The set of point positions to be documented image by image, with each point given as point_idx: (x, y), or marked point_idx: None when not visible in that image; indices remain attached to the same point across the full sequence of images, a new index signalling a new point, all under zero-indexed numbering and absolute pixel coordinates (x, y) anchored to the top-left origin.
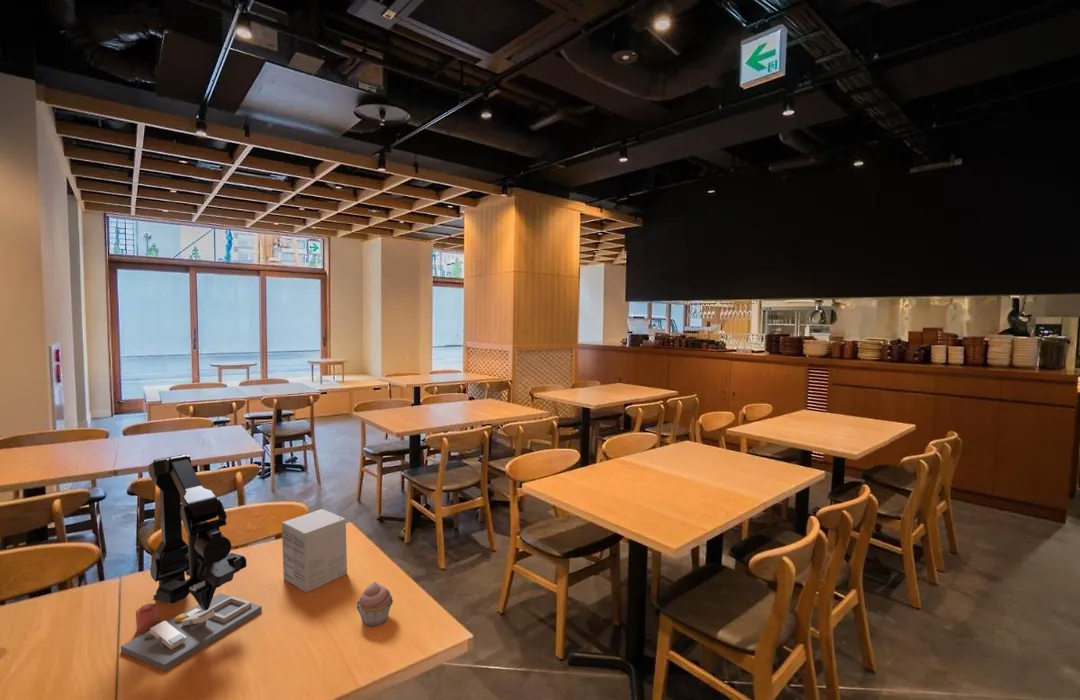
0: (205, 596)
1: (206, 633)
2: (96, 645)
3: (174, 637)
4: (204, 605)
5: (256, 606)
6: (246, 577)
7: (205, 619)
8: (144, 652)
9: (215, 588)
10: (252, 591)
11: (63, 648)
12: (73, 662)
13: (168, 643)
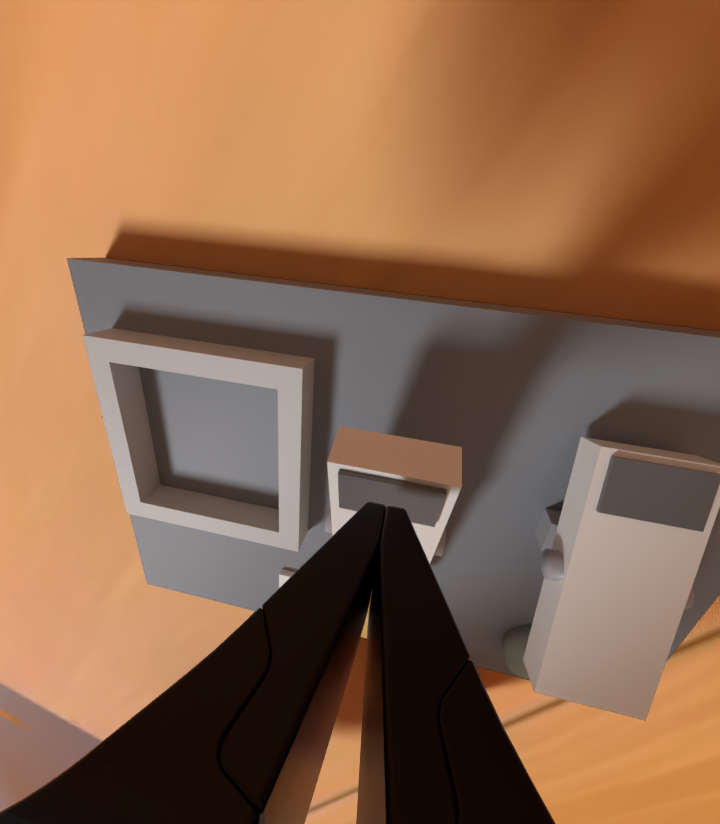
0: (423, 723)
1: (449, 377)
2: (573, 753)
3: (660, 514)
4: (425, 562)
5: (91, 293)
6: (29, 563)
7: (426, 448)
8: (698, 586)
9: (133, 741)
10: (53, 469)
11: (601, 813)
12: (694, 763)
13: (712, 507)
